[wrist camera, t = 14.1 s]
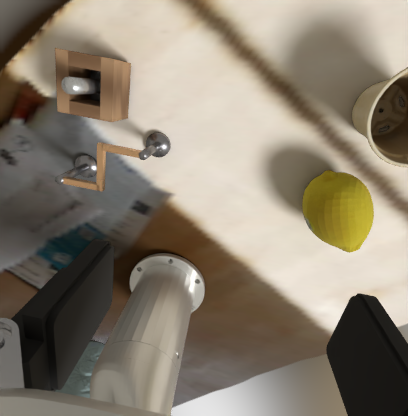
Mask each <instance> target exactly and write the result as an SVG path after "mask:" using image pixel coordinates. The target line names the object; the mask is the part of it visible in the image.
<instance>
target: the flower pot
mask: <svg viewBox="0 0 408 416" xmlns="http://www.w3.org/2000/svg"><path fill="white" fill-rule="evenodd" d="M400 96H401V98H402V99H403V102H404V106H403V107H401V106H400V100H399V97H400ZM380 109H383V112H381V113H380V112H379V110H380ZM352 120H353V124H354V126H355V128H356V129H357V131H358V132H360V133H361V134H362V135H364V136H365V137H366V138H367V139H368V142H369V144H370V146H371V148H372V150H373V151H374V152H375V154H376V155H377V156H378V157H380V158H381V159H382V160H384V161H385V162H387V163H390V164H392V165H395V166H399V167H408V67H407V68H406V69H404V70H402V71H401V72H399V73H398V74H396V75H395V76H394V77H393V78H391V79H389V80H386V81H383V82H380V83H377V84H374V85H372V86H370V87H369V88H367V89H366V90H365V91H364V92H363V93H362V94H361V95H360V96H359V98H358V99H357V101H356V103H355V105H354V107H353V111H352ZM387 125H388V126H389V129H388V130H386V131H382V132H379V129H380V128H383V127H386V126H387Z"/></svg>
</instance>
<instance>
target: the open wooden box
mask: <svg viewBox="0 0 408 416" xmlns="http://www.w3.org/2000/svg"><path fill="white" fill-rule="evenodd" d="M55 59H56V83H57V107H58V112H63V113H68V114H73V115H78V116H83V117H88V118H94V119H99V120H104V121H109V122H114V121H118V120H122V119H126V118H128V106H129V89H130V71H131V63H127V62H123V61H119V60H115V59H111V58H105V57H100V56H95V55H89V54H84V53H79V52H73V51H68V50H63V49H57V48H55ZM91 70H96V71H101V93H100V101H96V100H91V94H67V93H66V92H65V91H64V90H63V89H62V85H61V82H62V80H63V78H65V77H76V78H88V79H91Z"/></svg>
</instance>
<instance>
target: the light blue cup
mask: <svg viewBox="0 0 408 416" xmlns="http://www.w3.org/2000/svg"><path fill="white" fill-rule="evenodd" d="M104 346H105V345H104V344H102V343H99V342H93V341H90V342H89V344H88V346H87V347H86V349H85V351H84V352H83V354H82V356H81V358H80V359H79V361H78V363H77V364H76V366H75V368H74V370H73V371H72V373H71V375H70V376H69V378H68V380H67V381H66V383H65V385H64V386H63V388H62V389H61V390H56V391H55V392H60V393H65V394H70V395H75V396H80V397H85V398H90V381H91V375H92V371H93V368H94V366H95V364H96V361H97V359H98V357H99V355H100V354H101V352H102V350H103V348H104Z"/></svg>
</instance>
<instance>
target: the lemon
mask: <svg viewBox="0 0 408 416" xmlns="http://www.w3.org/2000/svg"><path fill="white" fill-rule="evenodd" d="M302 208H303V213H304V217H305V220H306V223H307V225H308V227H309V228H310V229H311V231H312V232H313V233H314V234H315V235H316V236H317V237H318V238H320V239H321V240H322V241H324V242H326V243H328V244H330V245H332V246H336V247H338V248H339V249H342V250H343V251H346V252H353V251H356V250H358V249H359V248H360V247H361V245H362V243H363V242H364V240H365V239H366V237H367V236H368V234H369V232H370V229H371V227H372V223H373V217H374V211H373V203H372V199H371V195H370V193H369V191H368V189H367V187H366V186H365V185H364V184H363V183H362V182H361V181H360V180H359V179H357V178H356V177H354V176H353V175H350V174H347V173H342V172H333V171H331V170H327V171H325V172H324V173H323V174H322V175H320V176H318V177H316V178H314V179H313V180H312V181H311V182H310V183H309V185H308V186H307V188H306V189H305V192H304V195H303V203H302Z"/></svg>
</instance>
